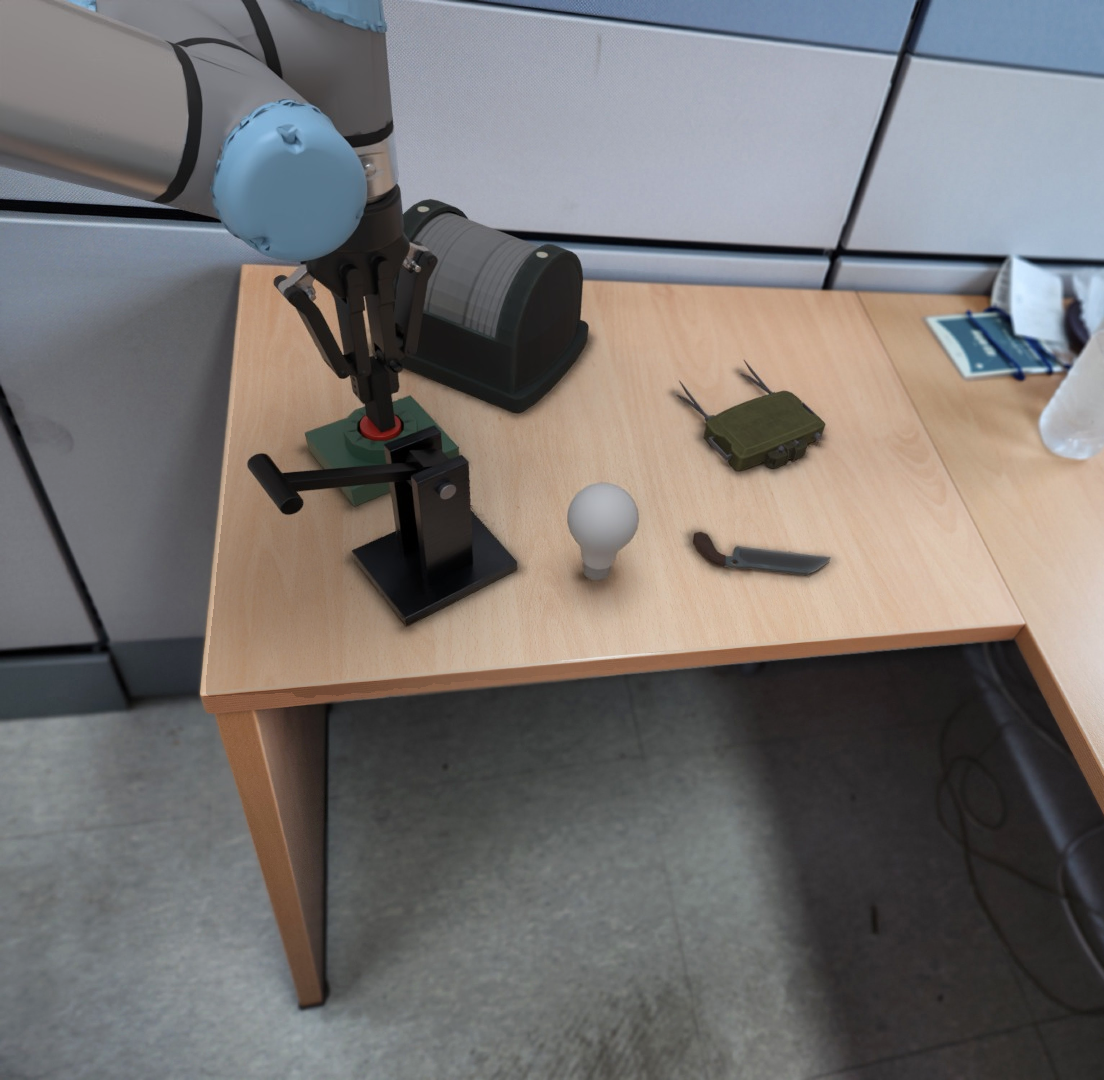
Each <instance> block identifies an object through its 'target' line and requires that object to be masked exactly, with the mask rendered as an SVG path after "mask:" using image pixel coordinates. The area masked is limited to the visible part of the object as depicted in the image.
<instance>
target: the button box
mask: <svg viewBox="0 0 1104 1080" xmlns="http://www.w3.org/2000/svg"><path fill="white" fill-rule="evenodd" d="M392 402H393V409H394V415H396V416H397V417H398V418H399V420H400V422H401V431H402V432H401V434H400V435H399V436H398V437H396V438H393V439H390V440H388V441H372V440H370V439H367V438H364V437H362V435H361V429H360V422H361V420H362V419H363V417H365V416H366V410H365V405H364V406H362V407H359V408H356V409H354V410H353V411H352V412H351V413H350V414H349V415H348V416H347V417H345V418H342V419H339V420H337V421H334V422H331V423H327V424H325V425H322V426H319V427H317V428H314V429H311V430H308V431H305V432H304V438H305V441H306V446H307V450H308V451H309V452H310V453H311V455H312V456H313V457H314V459H315V460H316V461H317V462H318V463H319V465H320V466H321V467H322V468H323V469H333V468H345V467H357V466H369V465H381V464H386V457H385V450H384V444H386V443H389V442H391V441H394V440H396V439H399V438H402V437H404V436H407V435H410V434H412V433H415V432H418V431H420V430H423V429H425V428H428V427H431V426H433V425H435V426H436V427H437V428H438V429H439V430H440V431H441V437H442V451H443V452H444V454H445V455H446V456H447V457H448V458H449V459H452V458H455V457H457V456H460V448H459V446H458V445H457V443H455V441H454V440H453V439H452V438H451V437H450V436H449V434H447V432H445V431H444V429H442V428H441V426H440V425H439V424H438V423H437V422H436V420H434V419H433V418H432V417H431V416H430V414H429V413H428V412H427V411H426V410H425V409H424V408H423V407H422V406H421V404H420V403H418V402H417V400H416V399H415V398H414V397H413V396H412V395H408V396H407V395H406V396H404V397H403V398H402V397H401V398H399V399H396V400H392ZM339 489H340V491H341V492H342V494H344V496H345V497H346V498H347V499H348V501H349V502H350V503H351V504H352V506H353V507H357V506H359V505H362V504H364V503H367V502H368V501H372V500H374V499H376V498H379V497H381V496H383V495H385V494H388V493H391V492H390V485H389V482H388V483H378V484H368V485H358V486H349V487H339Z"/></svg>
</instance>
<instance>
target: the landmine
mask: <svg viewBox="0 0 1104 1080" xmlns="http://www.w3.org/2000/svg"><path fill="white" fill-rule="evenodd" d="M743 362H744V364H745V365H746V367H747V369H748V371H749V372H750V373H751V375H752V376H753V377H752V376H750V375H747V374H744V373H740V374H741V375H742V376H743V377H745V378H746V379H747V380H749V381H750V382H752V383H753V384H754V385H756V386H757V387H759V388H760V389H761V390H763V391H764V392H766V393H767V394H764V395H761V396H758V397H755V398H753V399H750V400H747V401H743V402H741V403H739V404H736V405H733V406H732V407H730V408H727V409H724V410H723V411H721V412H719V413H717V414H712V415H711V414H710V415H708V413H706V411H704V409H703V408H702V406H700V404H699V403H698V402H697V400H696V399H695V398H694V396H692V394H691V393H690V391H689V390H688V389H687V387H686V386H685V385H684V383H683V382H682V381H681V380H678V382H679V384H680V385H681V387H682V389H683V391H684V393H685V394H686V395H687V397H688V398H689V399H688V398H687V397H685V396H683V395H680V394H677V396H678V397H679V398H680V399H681V400H682V401H684V402H685V403H687V404H688V405H689V406H690V407H692V408H693V409H694V410H695V411H697V412H698V413H699V414H700V415H702V416H703V417H704V421H705V422H706V425H705V427H704V432H703V437H704V439H705V440H706V441H707V442H708V443H709V445H710V446H711V447H712V448H713V449H714V450H715V451H716V452H717V453H718V454H719V455H720V456H721V457H722V458H723V459H724V460H725V461H728V463H729V464H730V465H731V467H733V469H734V470H735V471H738V472H739V471H744V470H747V469H749V468H752V467H755V466H757V465H760V464H762V463H763V465H765V466H766V467H767V468H770V469H776V468H779V467H782V466H783V465H785V466H786V465H787V464H788V462H789V460H791V462H795V460H798V459H800V458H802V457H804V456H805V454H806V451H807V448H808V444H810V443H813V442H814V441H819V440H820V439H821V438H822V435H823V433H824V430H825V427H826V422H825V421H824V420H822V418H821V417H820V416H819V415H818V414H817V413H816V412H815V411H814V410H812V409H811V408H810V407H809V405H807V404H806V403H805V402H804V401H803V400H802V399H800V398H799V397H798V396H797V395H796V394H794V393H793V392H792V391H789V390H780V391H776V392H775V391H772V390H771V389H770V388H769V387H768V386H767V385H766V384H765V382H764V381H763V380H762V378H760V376H759V375H758V374H757V373H756V372H755V371H754V369H753V368H752V367H751V365H749V363H748V362H747V361H746V360H745V359H743Z"/></svg>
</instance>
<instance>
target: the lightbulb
mask: <svg viewBox="0 0 1104 1080" xmlns="http://www.w3.org/2000/svg"><path fill="white" fill-rule="evenodd" d="M639 522H640V516H639V509H638V506H637V503H636V501H635V500H634V498H633V497H632V496H631V494H630V493H629V492H628V491H627V490H626V489H624V488H622V487H621V486H618V485H617V484H614V483H612V482H611V483H610V482H596V483H593V484H589V485H587V486H585V487H583V488H582V489H580V490H579V491H577V493H576V494H575V495H574V497H573V498H572V499H571V502H570V503H569V505H568V508H567V515H566V523H567V526H568V531H569V533H570V535H571V536H572V538H573V540H574V541H575V542H576V543H577V545H579V548H580V558H581V560H582V572H583V574H584V576H585V577H586V578H587V579H589V580H592V581H596V582H599V581H604V580H605V579H607V578H608V577H609V576H610V574H611V570H612V567H613V564H614V563H615V561H616V560H617V559H616V558H617V555H618V553H619V551H621V550H623V548H625V547H626V546H628V544H630V543H631V541H632V540H633V539H634V537H635V535H636V533H637V531H638V528H639Z"/></svg>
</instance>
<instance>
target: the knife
mask: <svg viewBox="0 0 1104 1080" xmlns="http://www.w3.org/2000/svg"><path fill="white" fill-rule="evenodd" d="M692 539H693V540H692V543H693V545H694V546H695V548H696V549H697V550H698V551H699V553H700V554H701V555H702V556H703V557H704V559H706V560H707V561H709V562H710V563H712V564H713V565H716V566H718V567H724V568H725V567H726V568H730V569H734V570H735V569H736V570H743V569H750V570H751V569H752V570H760V571H768V572H775V573H785V574H793V575H802V576H807V575H810V574H812V573H815V572H817V571H818V570H820V569H821V568H822V567H824V566H825V565H827V564H828V563H829V562H830V560H832V559H831V558H832V557H831V556H825V555H823V556H822V555H816V554H808V553H798V552H791V551H782V550H774V549H765V548H757V547H750V546H749V547H747V546H740V545H736V546H734V548H733V551H732V555H726V554H723V553H721V552H719V551H718V549H716V547H715V545H714V543H713V541H712V539H711V538H710V536H709V534H708V533H705V532H702V531H698V532H694V533H693V535H692ZM734 562H735V563H736V564H734Z"/></svg>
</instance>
